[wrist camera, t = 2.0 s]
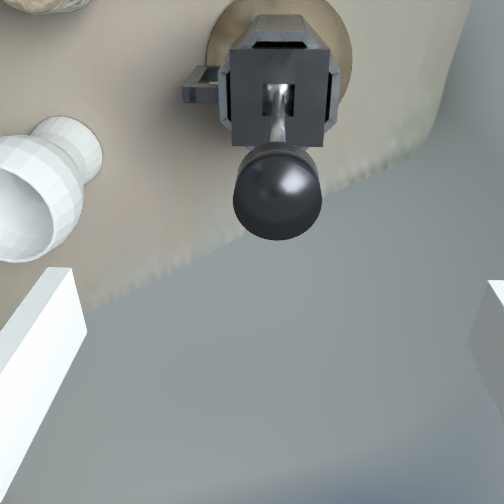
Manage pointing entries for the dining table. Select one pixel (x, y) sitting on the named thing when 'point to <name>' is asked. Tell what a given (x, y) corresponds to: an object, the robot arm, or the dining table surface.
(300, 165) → the black knob on rod
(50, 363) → the robot arm
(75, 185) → the cup
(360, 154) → the dining table surface
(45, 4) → the carving
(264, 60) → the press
